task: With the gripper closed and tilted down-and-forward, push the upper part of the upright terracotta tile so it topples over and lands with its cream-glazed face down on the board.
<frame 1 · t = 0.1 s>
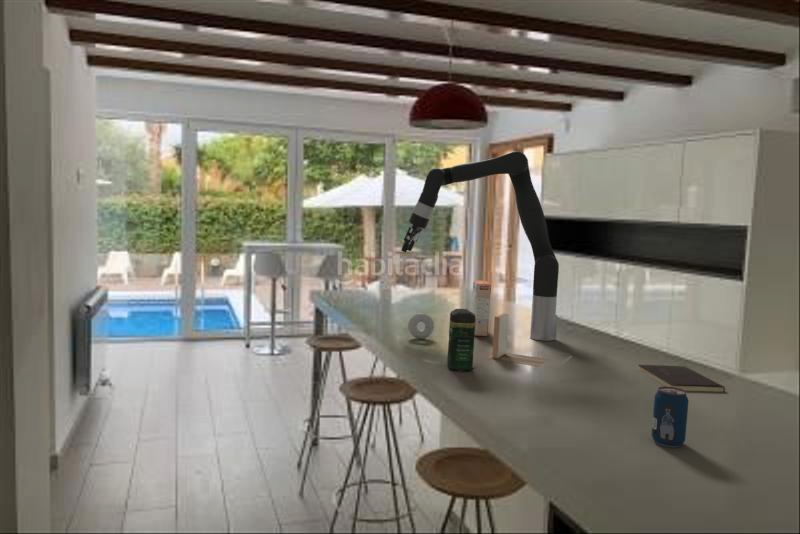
hand: (406, 251, 263), 31 cm above the countertop, tool tilted 20°, fingers open, 8 cm apart
hardcover book: (678, 382, 197), on the countertop
donut: (420, 339, 242), on the countertop
soda can: (667, 443, 142), on the countertop
tile: (499, 355, 217), point 1 cm above the countertop, touching board
coffee jar: (459, 368, 201), on the countertop
board: (516, 360, 214), on the countertop
cracker box: (479, 333, 258), on the countertop
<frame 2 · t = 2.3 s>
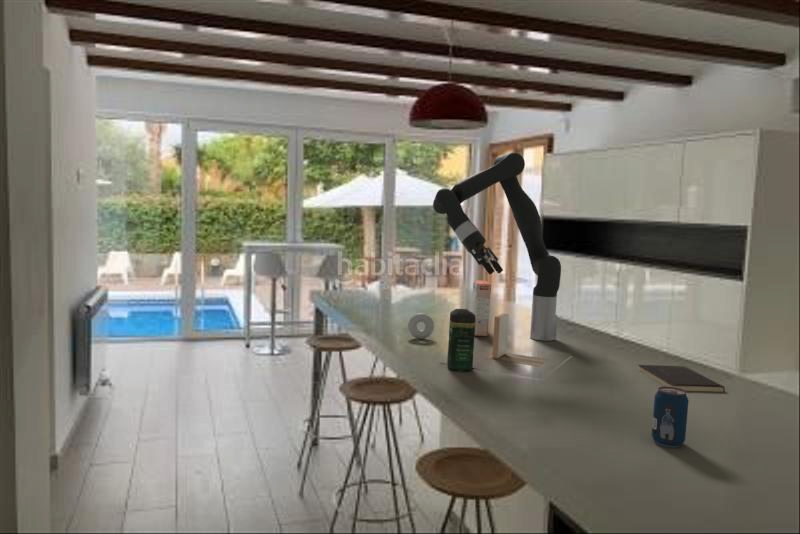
hand: (496, 272, 223), 28 cm above the countertop, tool tilted 40°, fingers open, 8 cm apart
nothing on the countertop moved.
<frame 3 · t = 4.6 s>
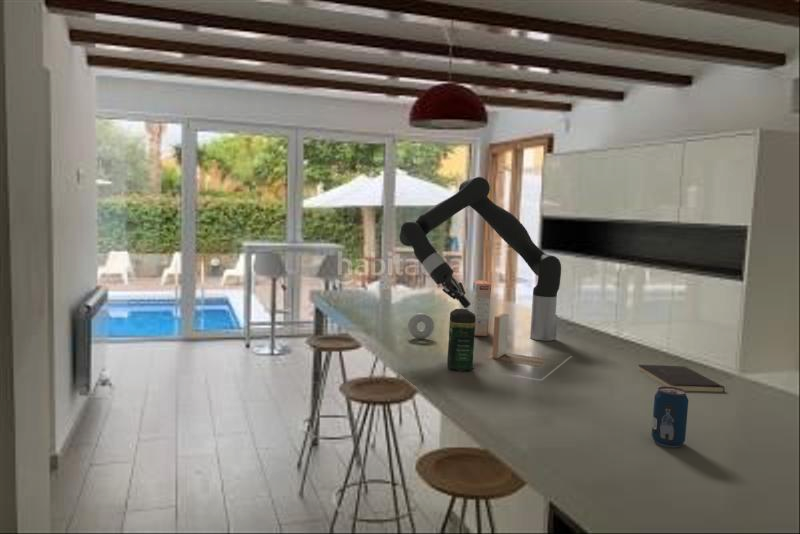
hand: (467, 306, 221), 16 cm above the countertop, tool tilted 45°, fingers closed
nothing on the countertop moved.
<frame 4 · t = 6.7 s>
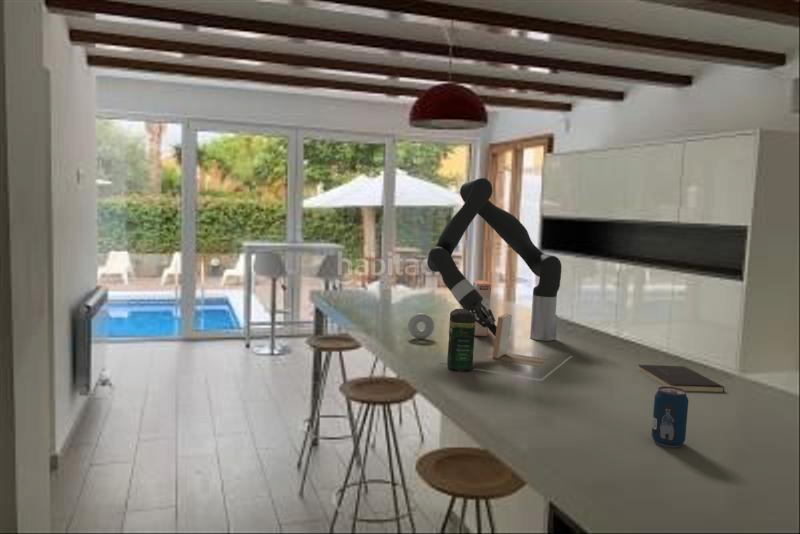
hand: (498, 334, 217), 8 cm above the countertop, tool tilted 45°, fingers closed
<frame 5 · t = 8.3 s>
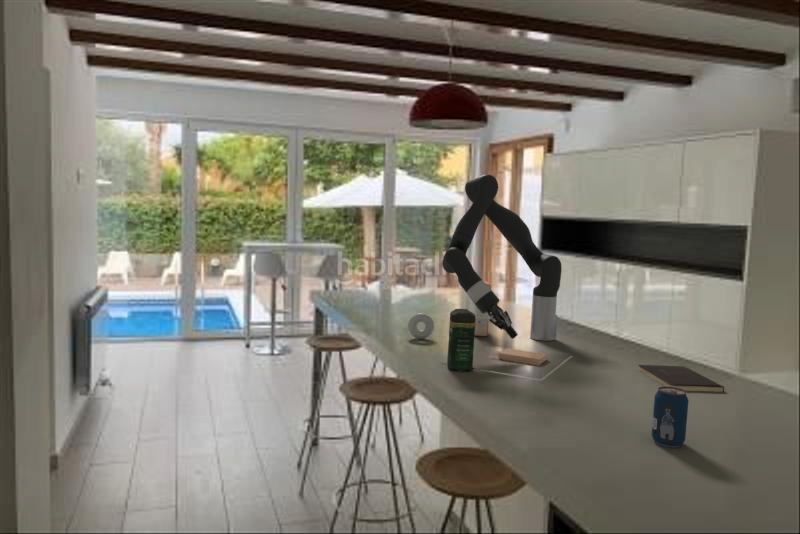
hand: (515, 336, 214), 8 cm above the countertop, tool tilted 45°, fingers closed
tile: (502, 353, 216), point 2 cm above the countertop, tilted 90°, touching board
everything else where it was.
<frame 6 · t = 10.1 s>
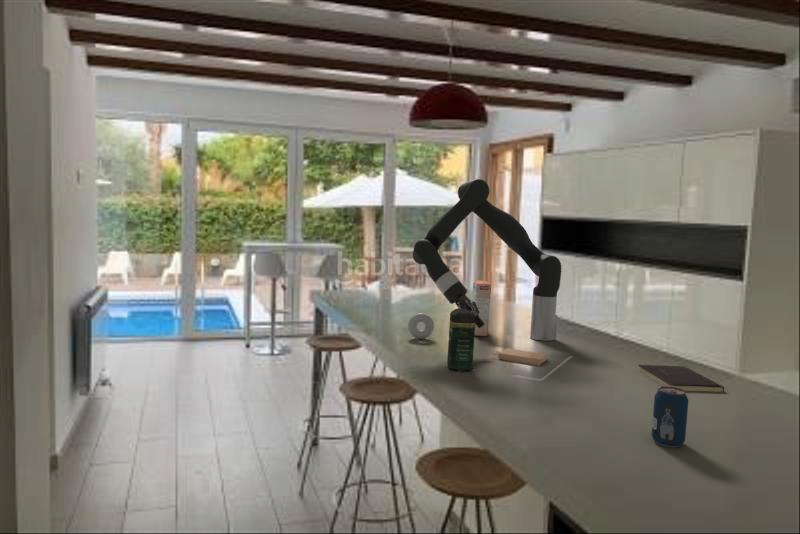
hand: (482, 326, 219), 10 cm above the countertop, tool tilted 45°, fingers closed
nothing on the countertop moved.
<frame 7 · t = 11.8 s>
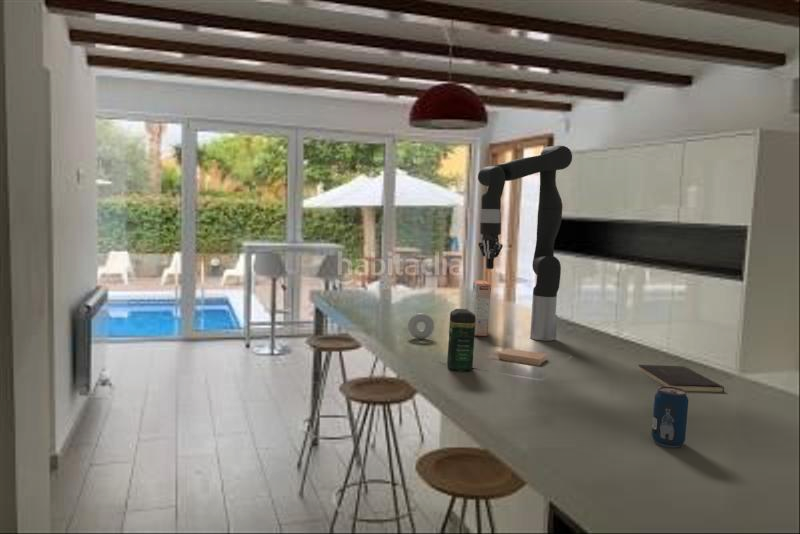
hand: (489, 268, 235), 28 cm above the countertop, tool pointing down, fingers closed
nothing on the countertop moved.
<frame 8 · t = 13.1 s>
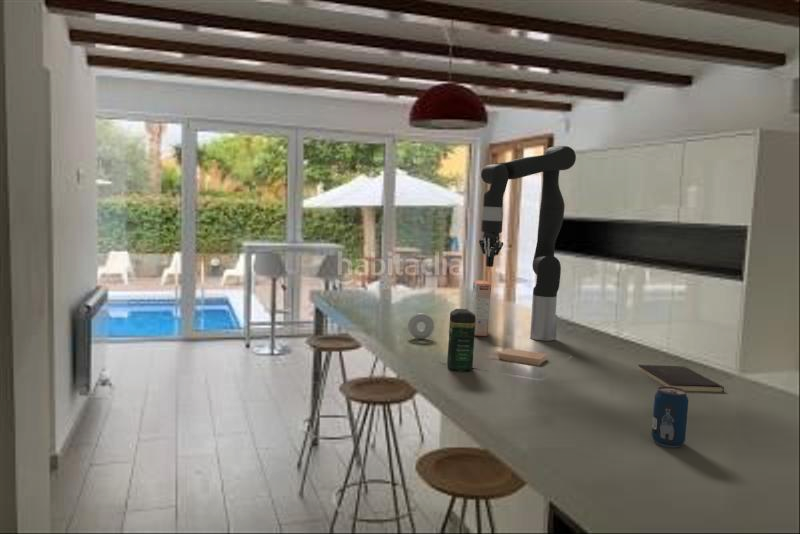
hand: (489, 266, 235), 29 cm above the countertop, tool pointing down, fingers closed
nothing on the countertop moved.
at the end: tile tilted 90°; tile inside the target area (3.1 cm from its centre), point 1.6 cm above the countertop; tile touching board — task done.
